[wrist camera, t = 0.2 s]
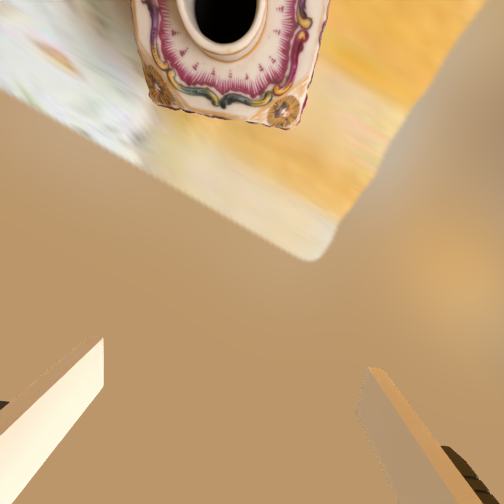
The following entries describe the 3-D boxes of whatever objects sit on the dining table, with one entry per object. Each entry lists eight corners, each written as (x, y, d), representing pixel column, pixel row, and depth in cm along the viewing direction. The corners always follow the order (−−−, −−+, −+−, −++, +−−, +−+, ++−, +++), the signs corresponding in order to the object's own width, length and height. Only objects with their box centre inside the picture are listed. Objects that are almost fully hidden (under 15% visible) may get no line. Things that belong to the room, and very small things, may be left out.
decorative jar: (192, 103, 31) (115, 105, 16) (197, -32, 25) (82, -242, 10) (288, 121, 32) (306, 142, 16) (316, -8, 26) (387, -172, 10)
